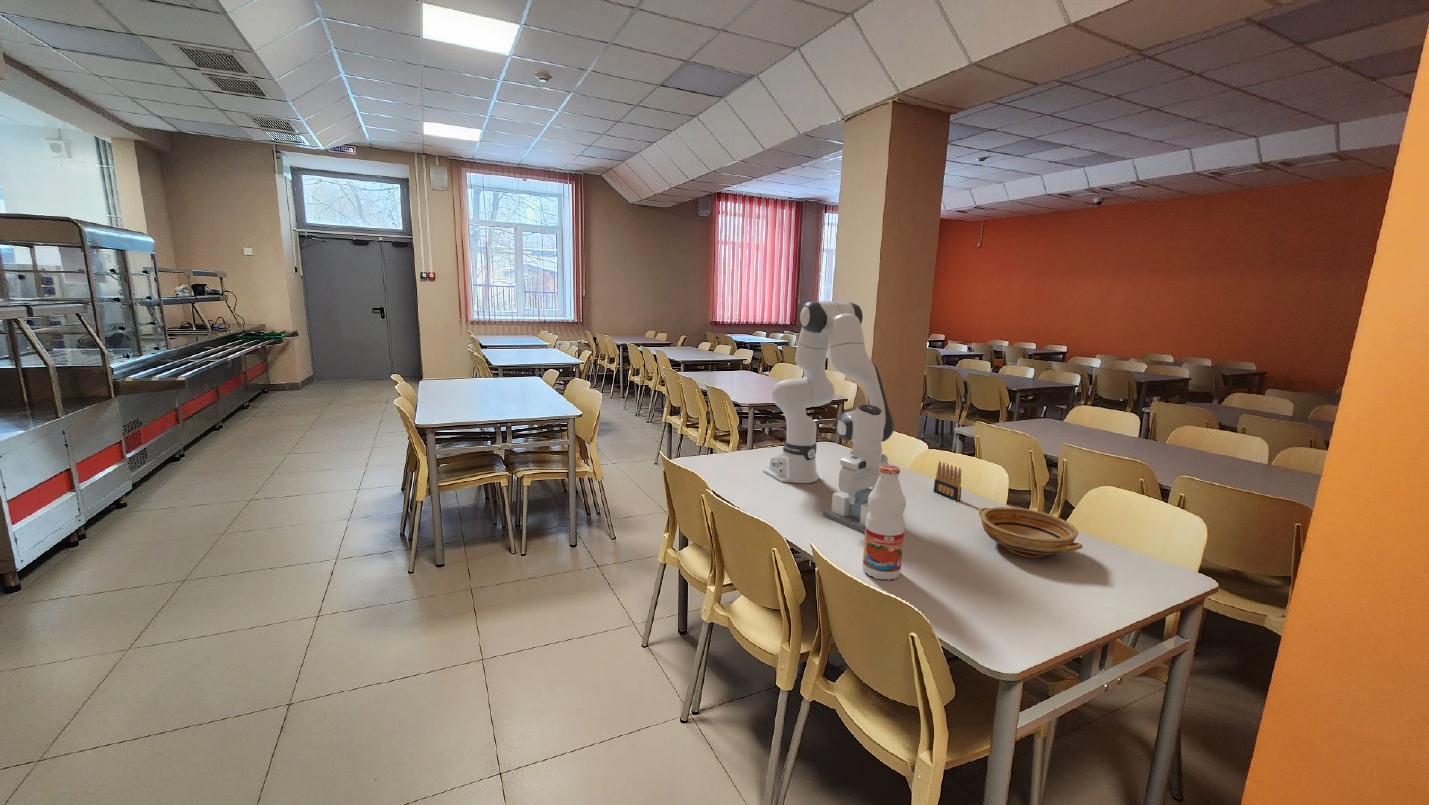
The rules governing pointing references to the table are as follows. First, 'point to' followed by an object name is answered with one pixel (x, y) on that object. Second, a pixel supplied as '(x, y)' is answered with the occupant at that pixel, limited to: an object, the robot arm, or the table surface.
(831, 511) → the board
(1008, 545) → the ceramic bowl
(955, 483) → the ammunition clip
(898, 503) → the fruit juice
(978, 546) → the table surface
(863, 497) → the block
